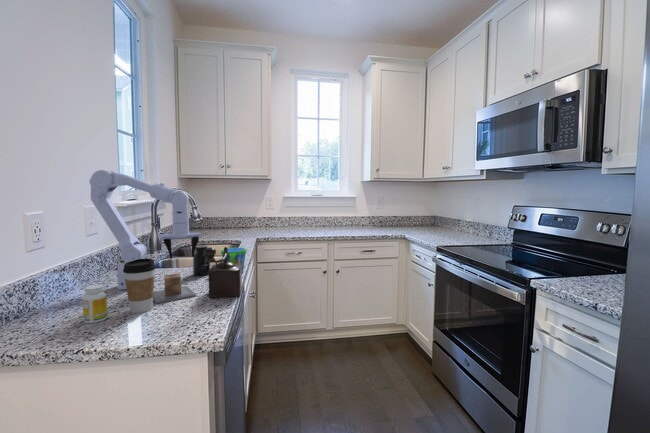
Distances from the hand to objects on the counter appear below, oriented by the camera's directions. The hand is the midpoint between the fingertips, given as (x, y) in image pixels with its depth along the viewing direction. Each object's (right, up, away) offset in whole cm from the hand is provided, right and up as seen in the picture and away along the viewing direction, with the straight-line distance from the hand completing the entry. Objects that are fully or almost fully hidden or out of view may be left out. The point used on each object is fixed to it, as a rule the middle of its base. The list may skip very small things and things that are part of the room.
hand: (182, 257), depth 124 cm
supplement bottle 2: (+3, -9, +13) cm, 16 cm away
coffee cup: (0, -13, -27) cm, 30 cm away
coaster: (+3, -11, -14) cm, 18 cm away
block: (+3, -11, -14) cm, 18 cm away
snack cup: (+16, -9, +15) cm, 24 cm away
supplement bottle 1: (-8, -13, -35) cm, 38 cm away
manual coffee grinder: (+21, -12, -14) cm, 28 cm away
